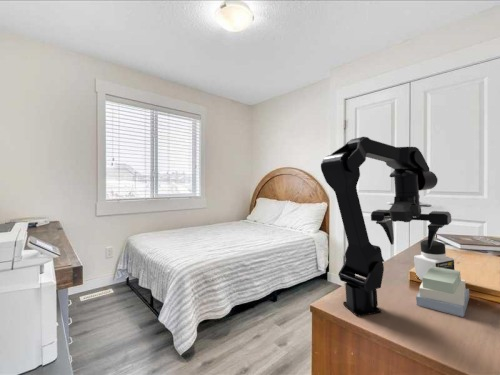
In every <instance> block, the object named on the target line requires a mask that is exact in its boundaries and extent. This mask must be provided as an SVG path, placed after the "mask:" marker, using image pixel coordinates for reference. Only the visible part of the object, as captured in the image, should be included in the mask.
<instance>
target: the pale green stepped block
mask: <svg viewBox="0 0 500 375" xmlns="http://www.w3.org/2000/svg"><path fill="white" fill-rule="evenodd" d="M461 279H462V278H461V271H460V270H455V269H454V270H451V269H445V268H439V267H433V266H432V267H431V268H430V269H429V270H428V272H427V273H426V274H425V275H424V276H423V277H422V280H423V288H427V289H432V290H436V291H441V292H445V293H450V294H454V293H455V291H456V289H457V287H458V285H459V283H460V281H461ZM422 280H421V281H422Z"/></svg>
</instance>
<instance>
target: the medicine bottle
mask: <svg viewBox="0 0 500 375" xmlns="http://www.w3.org/2000/svg"><path fill="white" fill-rule="evenodd" d="M446 251H447V250H446V244H445V242H443V241H441V240H438V239H434V240H433V243H432V246H431V248H430V249H428V239H424V240H422V241H420V254H416V255H414V256H413V258H414V259H413V260H414V271H415V272H414V274H415V273H416V275H417V276H418V277H419V279H420V281H421V282H422V281H423V280H422V277H423V276H424V275H425V274H426V273H427V272H428V270H429V269H430V268H431V267H432V266H433V267H439V268H445V269H451V270H455V260H454V259H455V258H452V257H450V256H447V254H446ZM419 279H418V280H419Z"/></svg>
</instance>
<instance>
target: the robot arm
mask: <svg viewBox="0 0 500 375" xmlns="http://www.w3.org/2000/svg"><path fill="white" fill-rule="evenodd" d="M367 158H369V159H371V160H372V159H374V160H377V161H381V162H384V163H385V165H386V166H388V167H389V168H391V169H393V171H392V172H391V173H390V174H389V178H393V179H394V180H393V181H394V194H395V195H394V197H393V204H392V205H391V206H390V208H389V209H376V210H373V211H372V212H371V214H370V221H371V222H375V223H376V224H377V225H380V226H381V227H382V229H383V230H384V232H385V234H386V237H387V238H388V241H389V243H390V245H391V246H392V245H394V244H395V243H394V242H395V237H394V225H393V222H403V223H410V222H411V221H425V222H426V221H428V222H429V224H428V225H427V229H428V230H427V231H428V232H427V240H428V249H430V248H431V246H432V243H433V240H435V238H436V234H437V233H438V231H439V230H440V229H442V228H443V227H445V226H448V225H449V224H451V223H452V215H451V213H450V211H437V210H432V211H430V212H429V213H422V208H421V204H420V193H419V192H420V191H426V190H431V189H434V188H435V187H436V186H437V184H438V181H439V179H438V177H437V175H436V174H435V172H433V171H431V170H430V167H429V165H428V163H427V161H426V159H425V157H424V156H423V153H422V152H421V150H420V149H419V148H418V147H416V146H394V145H391V144H387V143H384V142H380V141H377V140H373V139H371V138H369V137H368V136H359V137H356V138H352V139H350V140H348V141H347V142H346V143H345V144H344V145H342V146H341V147H339V148H338V149H337V150H335V151H334V152H331V154H329V155H327V156H325V157H324V158H323V159H322V161H321V163H320V169H321V173H322V176H323V177H324V178H323V179H324V180H325V183H326V184H327V185H328V186H329V187H330V188H331V189H332V190H333V192H334V193H335V197H336V201H337V205H338V209H339V213H340V217H341V220H342V221H341V222H342V224H343V227H344V232H345V237H346V241H347V244H348V245H347V247H346V249H345V252H344V256H345V261H344V263H343V265H342V266H341V268H340V270H339V271H338V278H339V280H340V281H341V282H344V283H345V284H344V287H345V297H346V298H345V301H343V302H342V303H343V305H344V306H345V307H346V308H347V307H348V308H349V309H350V310H349V309H348V308H347V309H348V310H349V311H350V312H352V313H353V314H354V313H355V314H356V315H357V317H361V316H368V315H374V314H378V313H381V312H382V310H381V308H379V307H378V289H380V288H382V282H383V277H384V271H385V267H384V262H385V260H384V258H383V254H382V248H381V247H380V246H378V245H374V244H372V242H370V238H369V234H368V231H367V230H368V229H367V226H366V224H365V218H364V214H363V211H362V206H361V203H360V197H359V194H358V189H357V185H358V183H359V179H360V177H361V172H360V167H361V166H362V165H363V164H364V163H365V162H366V160H367ZM355 314H354V315H355ZM356 315H355V316H356Z"/></svg>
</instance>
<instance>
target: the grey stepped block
mask: <svg viewBox="0 0 500 375" xmlns="http://www.w3.org/2000/svg"><path fill="white" fill-rule="evenodd" d="M469 300H470V289H469V288H466V279H462V278H461V281H460V283H459V285H458V287H457V289H456V291H455V293H454V294H450V293H445V292H441V291H436V290H432V289H427V288H423V281H422V280H421V283H420V285H419V290H418V293H417V294H416V296H415V301H416V302H415V303H416V306H419V307H422V308H427V309H430V310H434V311H438V312H442V313H446V314H450V315H454V316H457V317H461V318H464V317H465V314H466V312H467V308H468V307H467V306H468V304H469Z"/></svg>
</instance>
